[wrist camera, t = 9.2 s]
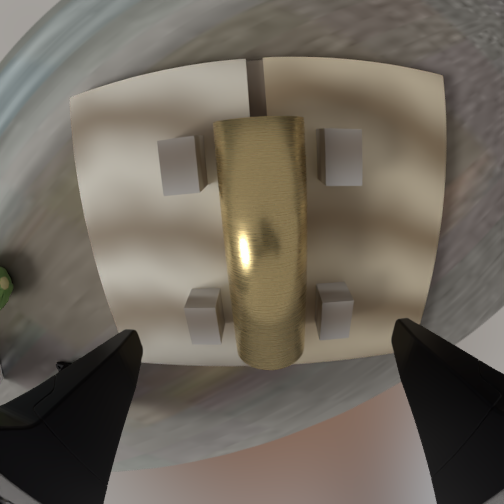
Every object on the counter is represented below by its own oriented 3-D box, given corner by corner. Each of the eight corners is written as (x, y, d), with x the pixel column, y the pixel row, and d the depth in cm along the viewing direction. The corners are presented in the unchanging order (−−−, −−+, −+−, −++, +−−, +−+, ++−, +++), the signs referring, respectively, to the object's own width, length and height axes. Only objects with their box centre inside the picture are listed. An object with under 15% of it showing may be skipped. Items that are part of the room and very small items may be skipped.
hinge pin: (299, 324, 21) (309, 366, 17) (238, 328, 21) (235, 371, 17) (296, 120, 15) (312, 115, 11) (217, 124, 16) (207, 120, 11)
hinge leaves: (407, 341, 23) (421, 367, 20) (134, 352, 24) (121, 379, 21) (434, 77, 14) (462, 71, 11) (78, 98, 16) (48, 96, 12)
